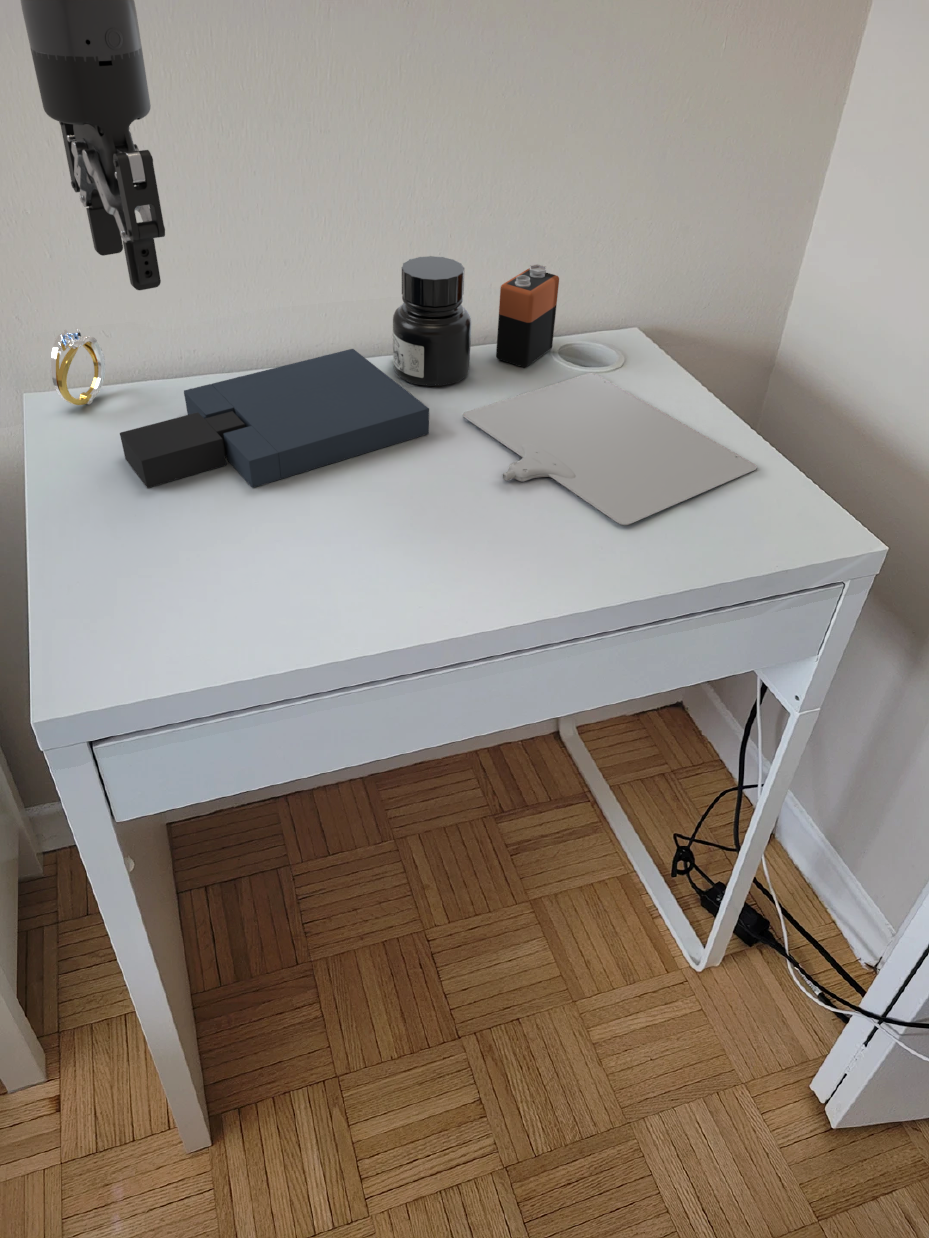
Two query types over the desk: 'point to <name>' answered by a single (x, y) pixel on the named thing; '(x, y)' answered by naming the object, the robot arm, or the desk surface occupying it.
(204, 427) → the pad tile
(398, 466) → the desk surface
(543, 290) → the battery
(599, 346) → the desk surface
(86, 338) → the ring
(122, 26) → the robot arm
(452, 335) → the ink bottle
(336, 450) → the pad mat
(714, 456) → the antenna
